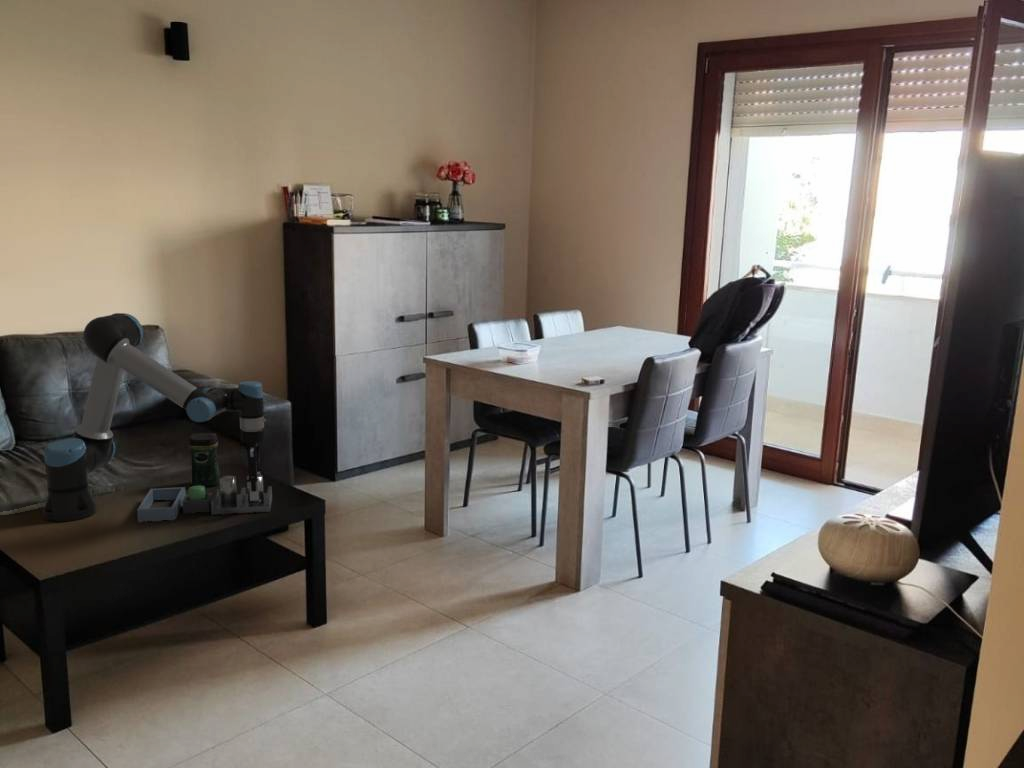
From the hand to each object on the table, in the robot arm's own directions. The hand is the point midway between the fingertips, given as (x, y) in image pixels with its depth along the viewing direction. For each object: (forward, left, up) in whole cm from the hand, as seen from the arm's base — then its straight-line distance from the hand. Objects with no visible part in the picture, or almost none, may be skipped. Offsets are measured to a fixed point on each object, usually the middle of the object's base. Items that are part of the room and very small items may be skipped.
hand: (255, 495), depth 290 cm
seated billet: (-8, 0, -2) cm, 9 cm away
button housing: (-18, 0, -4) cm, 19 cm away
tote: (-29, +1, -4) cm, 29 cm away
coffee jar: (-19, +28, -4) cm, 34 cm away
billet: (0, 0, -2) cm, 2 cm away
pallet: (-4, 0, -4) cm, 5 cm away
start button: (-18, 0, -2) cm, 18 cm away
